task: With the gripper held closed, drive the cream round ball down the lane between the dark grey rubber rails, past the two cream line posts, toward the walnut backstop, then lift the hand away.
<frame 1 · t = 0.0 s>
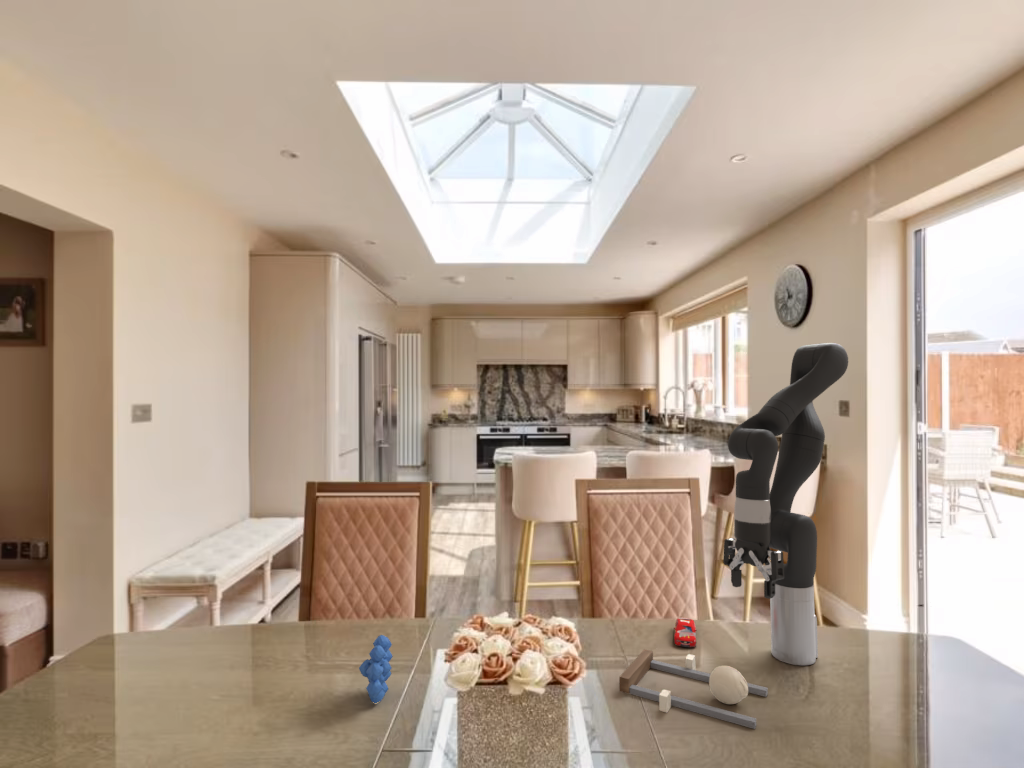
hand: (752, 592, 126), 17 cm above the table, tool pointing down, fingers open, 8 cm apart
line posts: (678, 681, 118), on the table
rails: (698, 693, 116), on the table
grapes: (375, 698, 116), on the table
cream round ball: (729, 703, 113), on the table
race car: (685, 639, 143), on the table
backstop: (637, 677, 123), on the table
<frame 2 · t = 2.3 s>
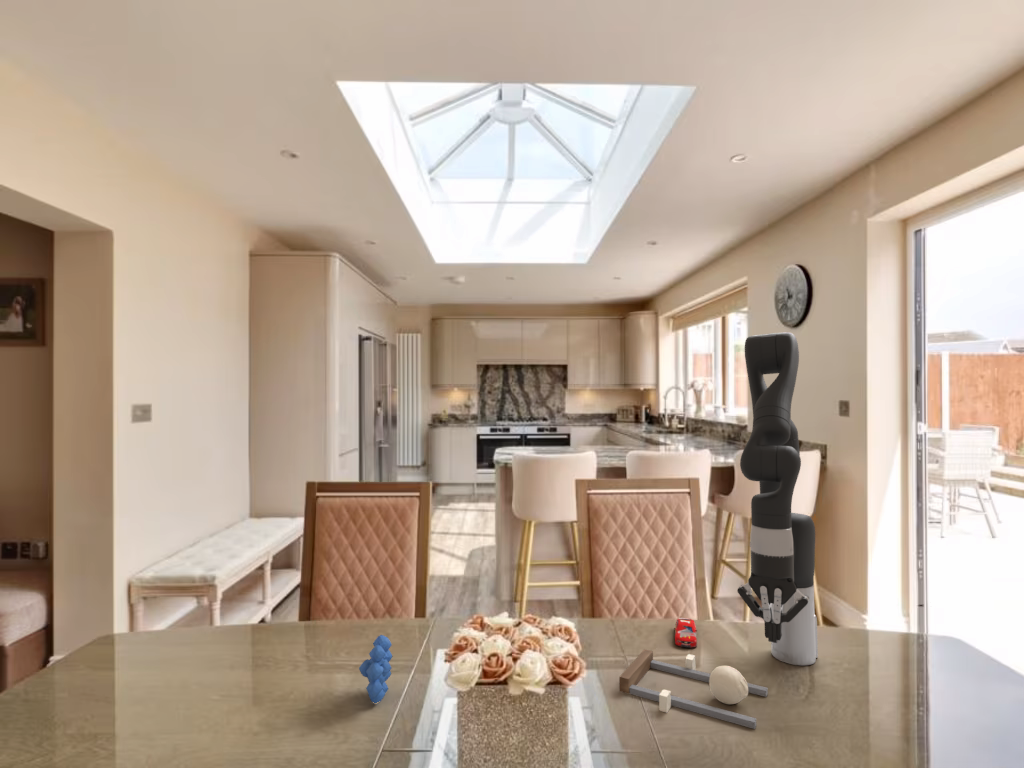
hand: (773, 640, 108), 14 cm above the table, tool pointing down, fingers closed
nothing on the table moved.
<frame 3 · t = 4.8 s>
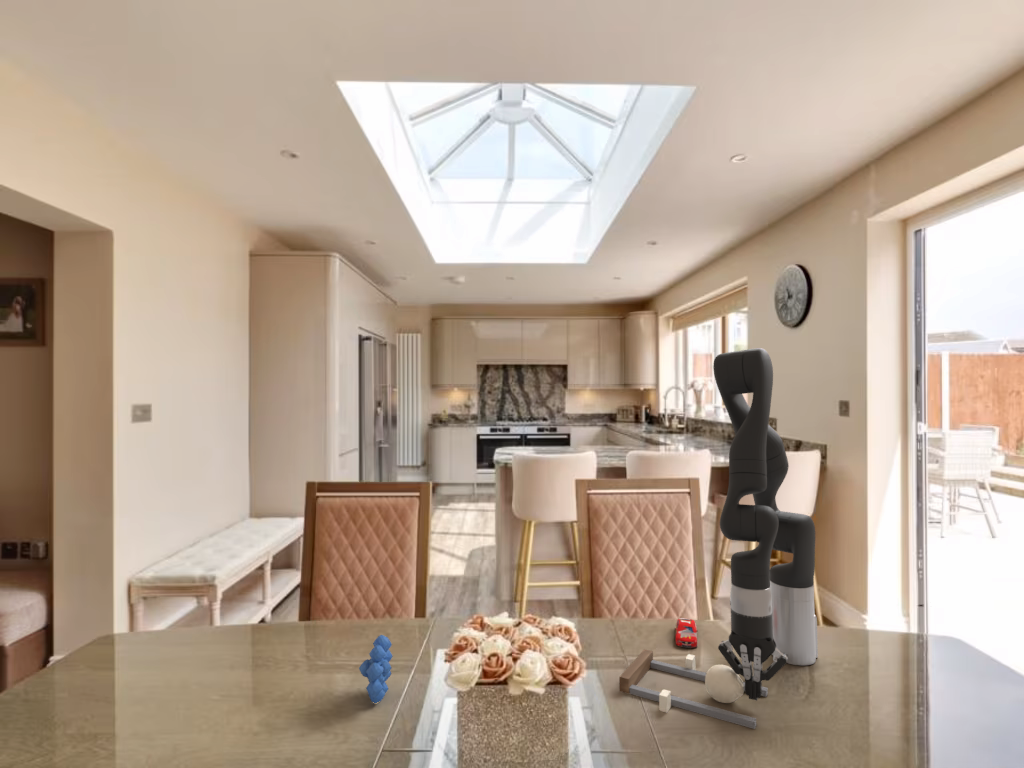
hand: (753, 697, 110), 2 cm above the table, tool pointing down, fingers closed
cream round ball: (724, 701, 113), on the table, touching gripper
everything else where it was.
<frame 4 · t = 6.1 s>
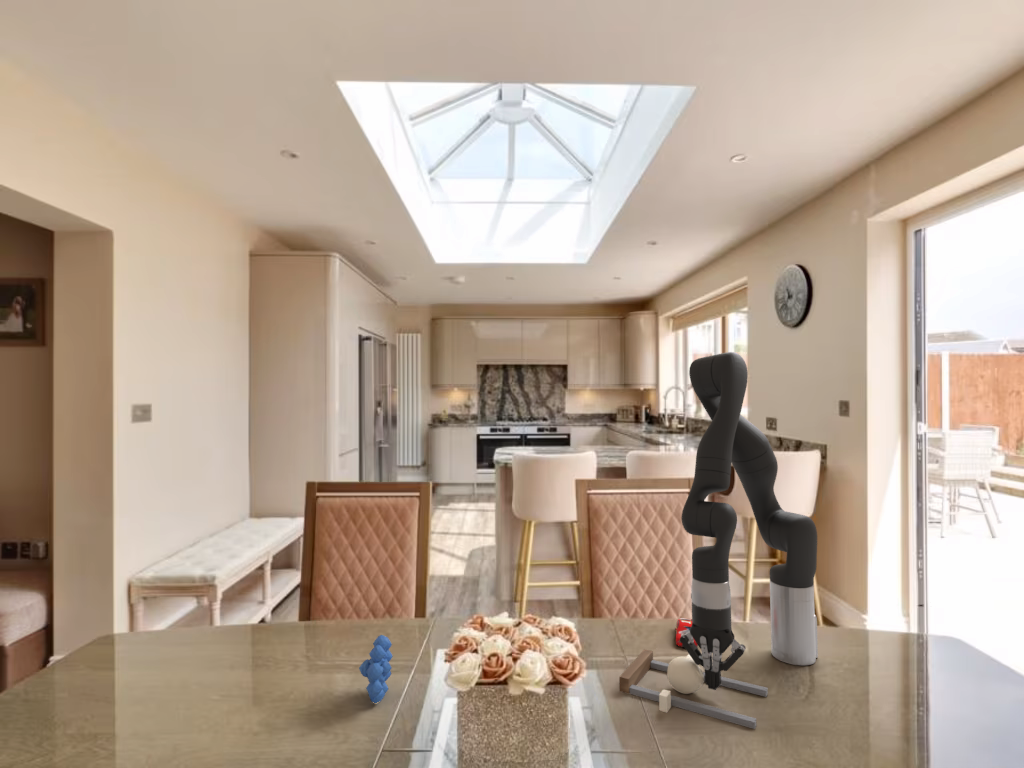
hand: (713, 687, 114), 2 cm above the table, tool pointing down, fingers closed
cream round ball: (685, 692, 117), on the table, touching gripper
everything else where it was.
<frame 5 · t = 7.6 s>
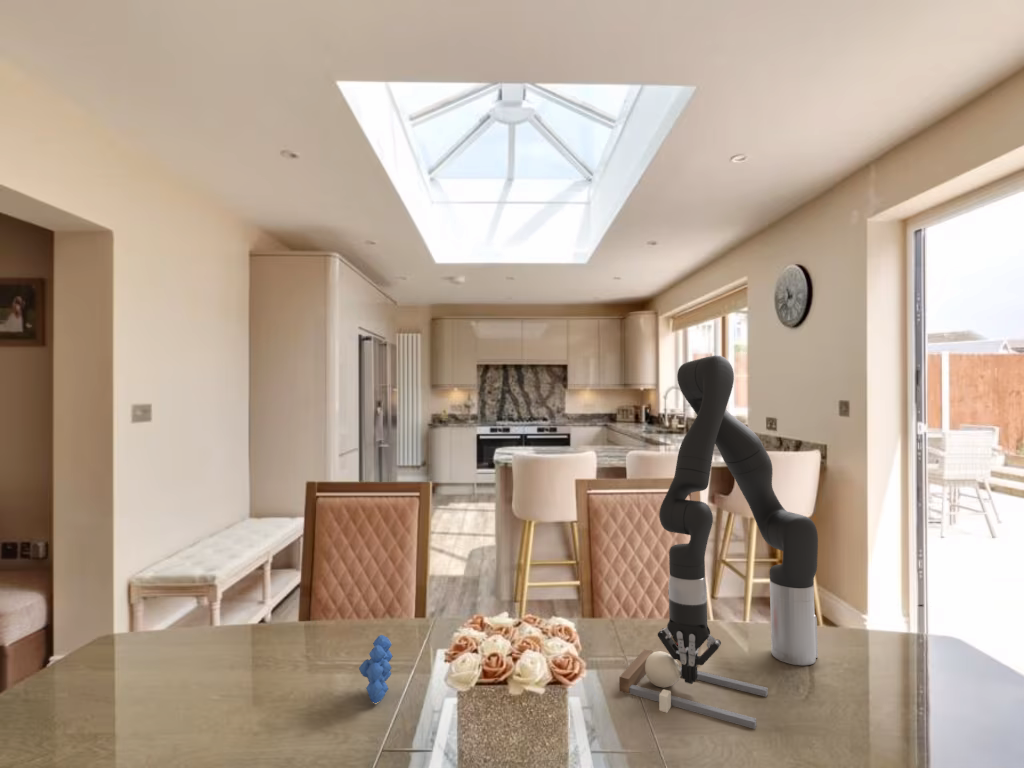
hand: (689, 681, 117), 2 cm above the table, tool pointing down, fingers closed
cream round ball: (663, 686, 119), on the table, touching gripper
everything else where it was.
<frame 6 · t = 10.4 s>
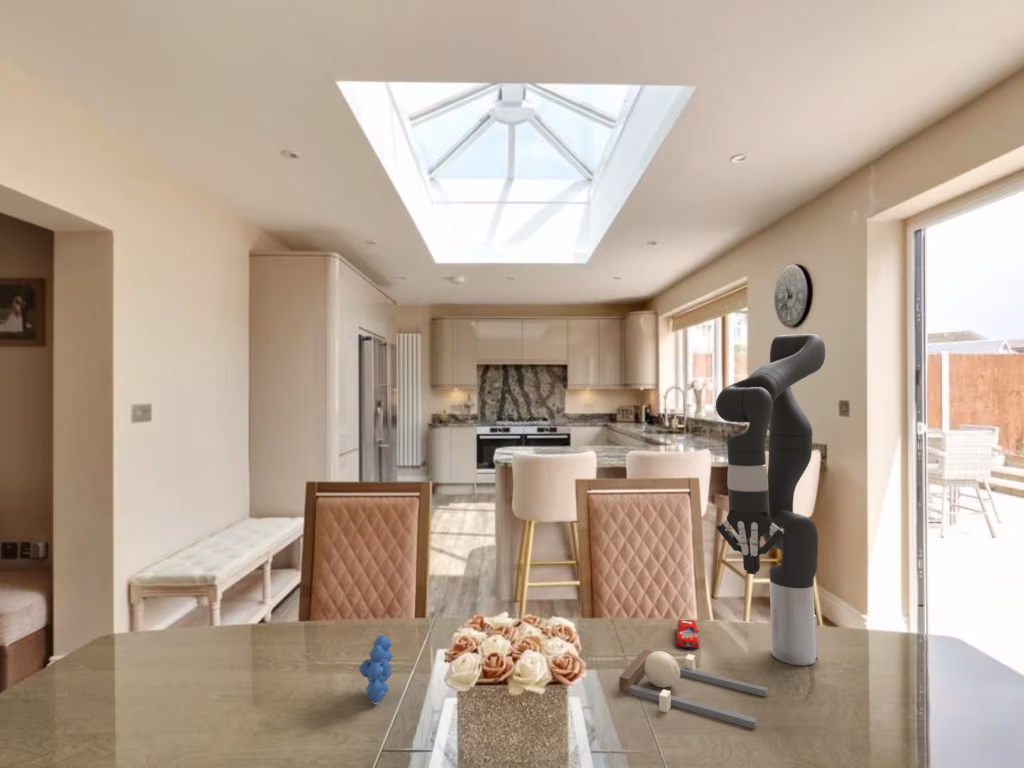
hand: (751, 573, 114), 25 cm above the table, tool pointing down, fingers closed
cream round ball: (662, 686, 119), on the table
everything else where it was.
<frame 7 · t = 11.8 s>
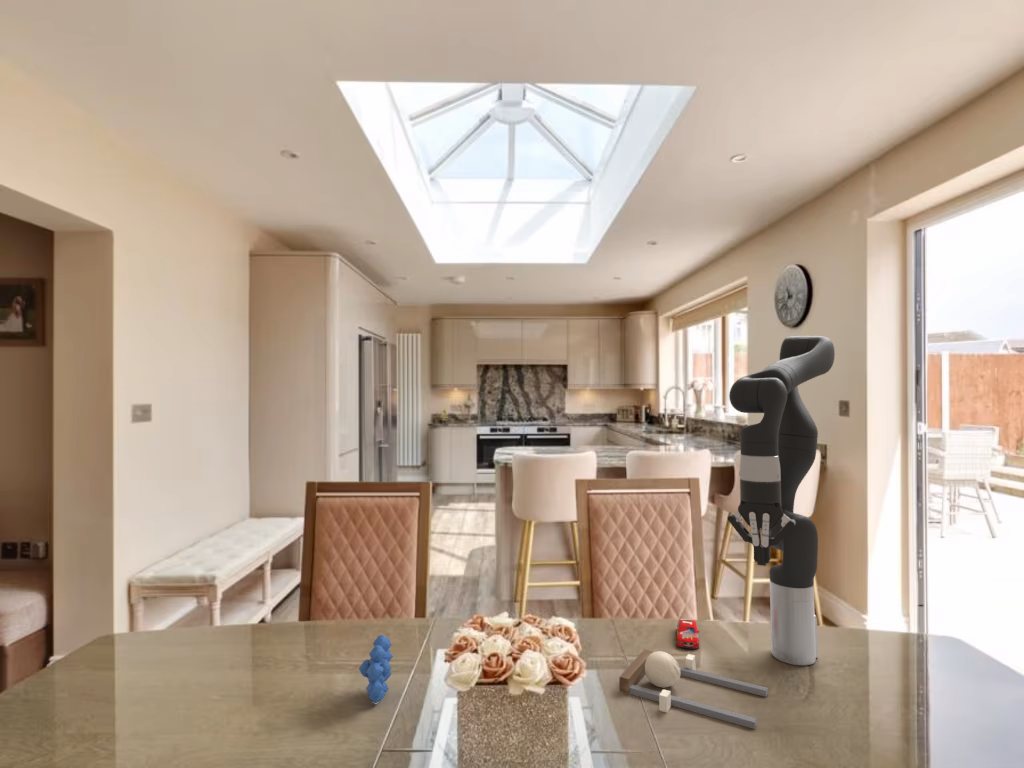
hand: (762, 564, 113), 27 cm above the table, tool pointing down, fingers closed
nothing on the table moved.
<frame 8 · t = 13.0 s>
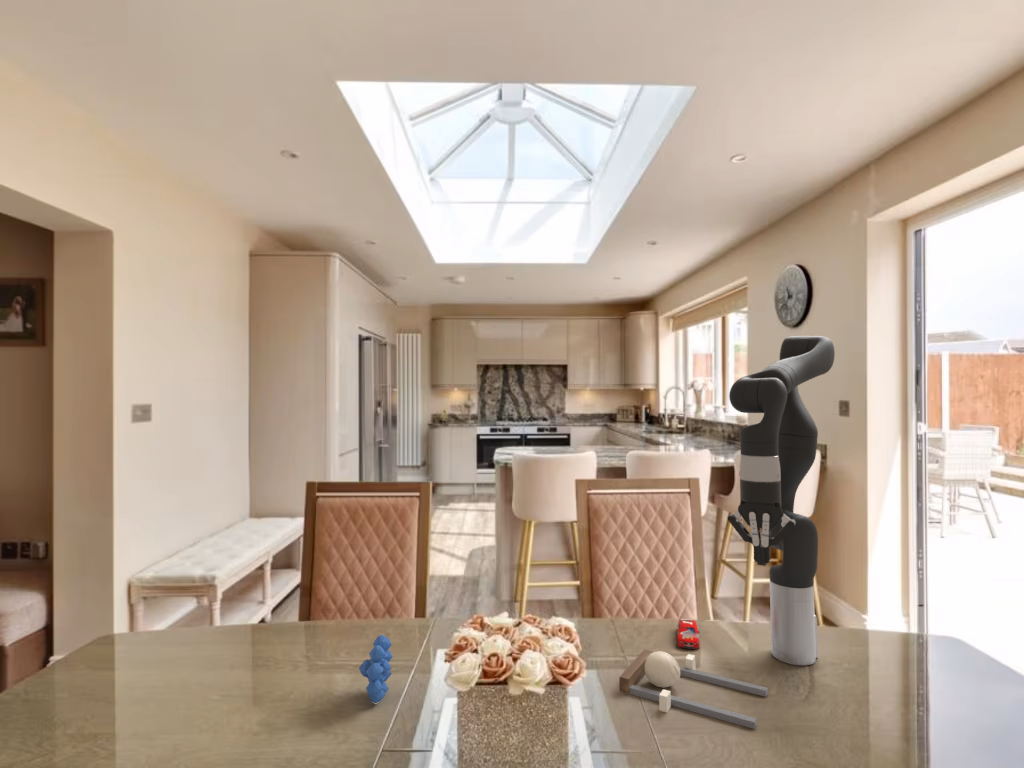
hand: (762, 564, 113), 27 cm above the table, tool pointing down, fingers closed
nothing on the table moved.
at the end: cream round ball 5.8 cm from the backstop (horizontally); cream round ball moved 13.2 cm from its start; the gripper is holding nothing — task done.
